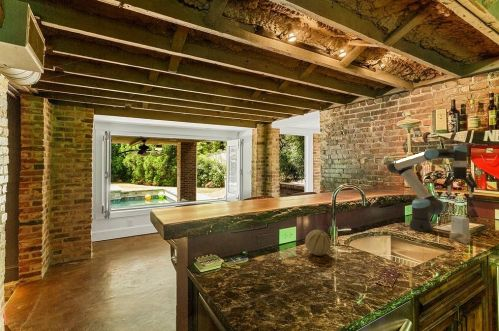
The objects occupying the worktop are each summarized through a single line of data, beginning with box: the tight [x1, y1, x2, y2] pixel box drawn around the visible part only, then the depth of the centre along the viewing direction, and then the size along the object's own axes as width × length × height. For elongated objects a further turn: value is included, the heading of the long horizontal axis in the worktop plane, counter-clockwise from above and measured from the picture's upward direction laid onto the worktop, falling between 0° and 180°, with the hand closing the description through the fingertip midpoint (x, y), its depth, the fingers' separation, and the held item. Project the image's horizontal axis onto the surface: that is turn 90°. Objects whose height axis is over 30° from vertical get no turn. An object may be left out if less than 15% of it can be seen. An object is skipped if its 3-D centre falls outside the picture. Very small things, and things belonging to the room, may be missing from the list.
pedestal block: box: [448, 230, 472, 245], centre depth 170 cm, size 9×9×6 cm
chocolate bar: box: [375, 266, 400, 285], centre depth 119 cm, size 7×19×2 cm, turn 141°
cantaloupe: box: [304, 229, 332, 256], centre depth 149 cm, size 15×15×15 cm
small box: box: [450, 215, 470, 234], centre depth 170 cm, size 8×6×10 cm
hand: (459, 195), depth 182 cm, fingers open, 13 cm apart
